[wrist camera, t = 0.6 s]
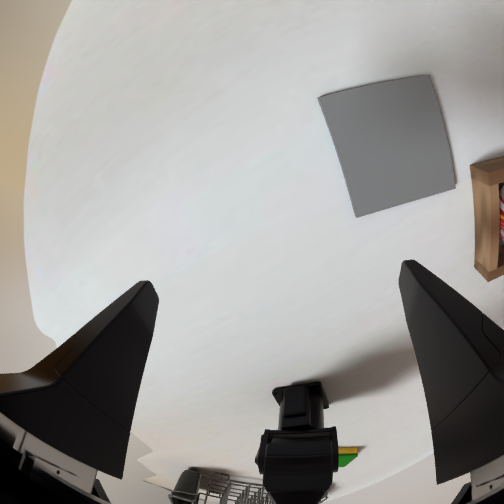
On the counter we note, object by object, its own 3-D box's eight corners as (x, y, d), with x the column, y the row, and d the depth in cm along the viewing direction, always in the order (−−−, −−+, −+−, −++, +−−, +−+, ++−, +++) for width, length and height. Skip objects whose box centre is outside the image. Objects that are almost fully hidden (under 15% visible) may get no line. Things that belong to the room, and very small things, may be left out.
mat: (452, 186, 19) (455, 188, 19) (354, 215, 22) (356, 217, 22) (426, 75, 16) (429, 75, 15) (317, 98, 18) (318, 97, 18)
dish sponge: (289, 444, 42) (288, 454, 40) (357, 445, 41) (358, 455, 39) (281, 456, 45) (280, 465, 43) (344, 458, 44) (344, 467, 42)
